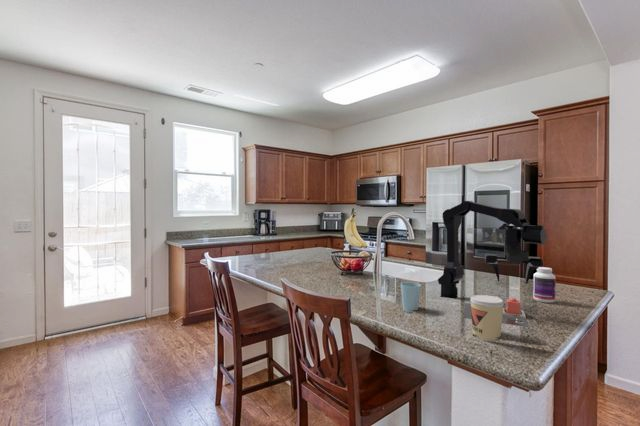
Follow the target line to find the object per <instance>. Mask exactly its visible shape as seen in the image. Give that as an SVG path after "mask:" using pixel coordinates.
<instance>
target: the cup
mask: <svg viewBox="0 0 640 426" xmlns="http://www.w3.org/2000/svg"><path fill="white" fill-rule="evenodd" d="M421 288H422V285H421V283H418V282H412V281H408V282H407V281H405V282H401V283H400V291H401V292H400V293H401V304H402V311H403V312H405V313H408V314H412V313H413V311H417V310H418V309H419V304H420V298H421V297H420V296H421V290H422V289H421Z"/></svg>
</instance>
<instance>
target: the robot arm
mask: <svg viewBox="0 0 640 426" xmlns="http://www.w3.org/2000/svg"><path fill="white" fill-rule="evenodd" d="M470 212H474V213H478V214H481V215H486V216H489V217H493V218H495V219H497V220H498V221H501V222H502V223H503V224H501V226H499V227H498V229H499V230H504V243H503V244H504V246H503V247H504V248H503V251H504V253H503V255H504V256H497V254H496V253H495V254H494V253H486V254H485V256H484V258H485V259H484V261H485V262H484V263H487V264H488V265H490V266H491V267H492V268H493V270H494V272H495V275H496V278H497V282H500V274H499V263H498V262H503V263H505V262H506V263H507V264H517V265H522V264H527V265H526V271H525V279H524V280H525V281H524V282H525V284H526V285H528V282H529V280H530V278H531V276H532V274H533V273H534V271H535V270H537V269H538V268H539V267H544V260H543V259H542V258H541V257H539V256H529V255H530V252H529V250H523V249H522V248H523V247H522V244H523V243H522V242H524V243H526V244H535V245H546V242H547V238H548V236H547V235H548V234H547V231H546V229H545V225H544V224H543V225H541V224H540V225H539V224H538V225H531V223H529V221H528V220H527V218H526V217H525V213H524V212H523V210H521V209H517V208H504V207H503V208H502V207H496V206H492V205H487V204H483V203H479V202H474V201H473V200H464V201H462V202H461V203H460V204H457V205H455V206H453V207H451V208H447V209H445V210H444V211H443V212H442V221H443V222H442V223H443V224H444V227H445V229H446V263H445V265H444V267H443V273H442V275H441V276H439V278H438V279H437V282H438V284H439V285H440V298H447V299H453V300H456V299H457V298H458V297H459V296H458V295H459V293H458V292H459V289H458V287H457V284H460V283H459V282H460V281H461V280H462V279H463V277H464V275H465V271H464V269H465V266H464V265H461V263H460V257H459V256H460V253H459V248H460V247H459V244H460V243H459V228H460V226H461V225H462V221H463V217H465V216H466V215H467V214H469V213H470Z"/></svg>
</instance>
